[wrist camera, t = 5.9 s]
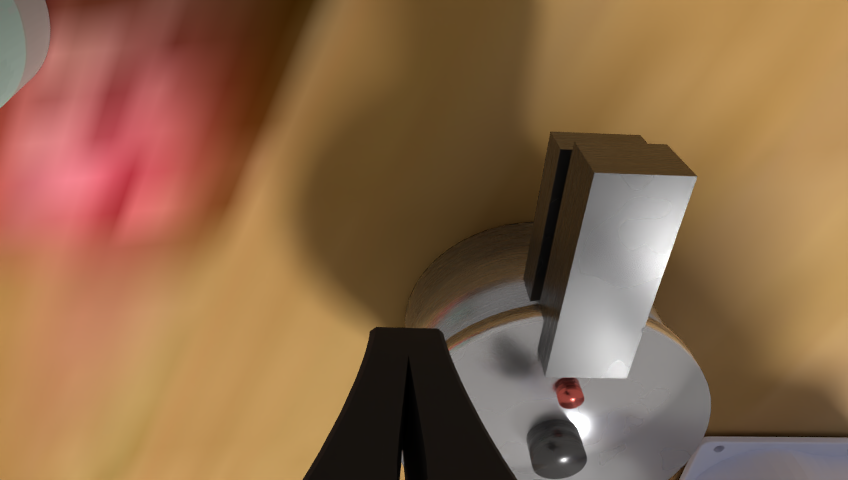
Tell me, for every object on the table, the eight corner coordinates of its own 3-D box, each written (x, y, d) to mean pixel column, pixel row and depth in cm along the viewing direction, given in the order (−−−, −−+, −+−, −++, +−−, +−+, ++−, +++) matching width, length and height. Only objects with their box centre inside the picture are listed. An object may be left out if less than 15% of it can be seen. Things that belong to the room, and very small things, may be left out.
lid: (652, 506, 24) (671, 553, 22) (392, 506, 23) (392, 554, 21) (818, 148, 15) (867, 182, 14) (411, 132, 14) (413, 165, 13)
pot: (599, 434, 29) (631, 526, 25) (399, 432, 28) (398, 526, 24) (711, 100, 20) (792, 161, 16) (416, 87, 19) (421, 147, 15)
